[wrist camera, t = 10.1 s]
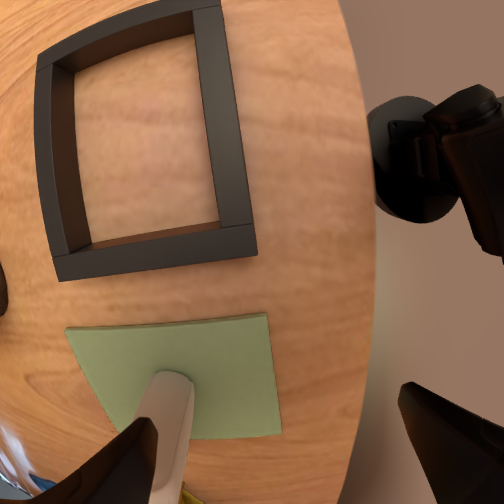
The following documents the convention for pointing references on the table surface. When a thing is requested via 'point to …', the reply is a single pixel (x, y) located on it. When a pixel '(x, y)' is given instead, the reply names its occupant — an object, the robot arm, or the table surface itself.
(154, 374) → the cream rounded block
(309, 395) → the table surface
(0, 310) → the pillar candle
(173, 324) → the mat
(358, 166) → the table surface
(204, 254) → the dark rectangular frame
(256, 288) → the table surface
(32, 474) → the table surface
